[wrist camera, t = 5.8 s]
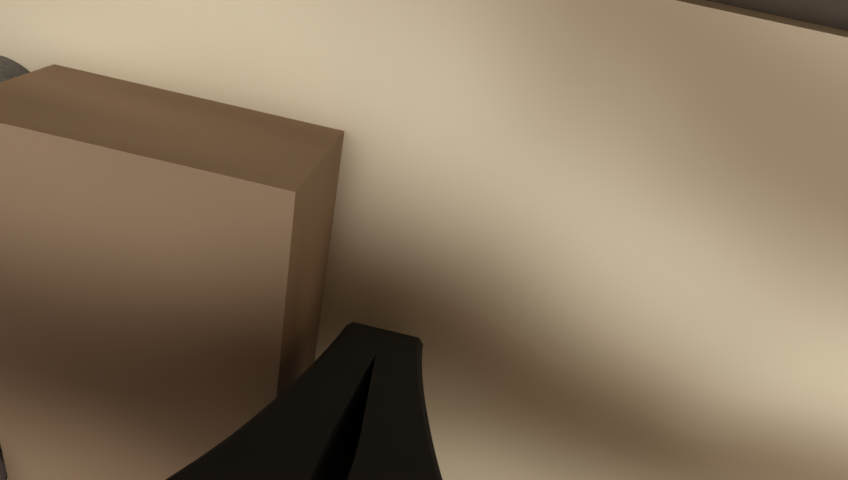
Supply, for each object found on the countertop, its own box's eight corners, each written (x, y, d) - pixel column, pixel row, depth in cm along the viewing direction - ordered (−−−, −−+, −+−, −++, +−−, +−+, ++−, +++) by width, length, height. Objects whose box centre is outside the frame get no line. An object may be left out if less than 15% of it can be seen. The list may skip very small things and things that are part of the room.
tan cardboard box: (301, 462, 14) (261, 564, 12) (90, 410, 14) (12, 501, 12) (344, 131, 10) (295, 191, 8) (54, 64, 10) (-71, 105, 8)
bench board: (790, 626, 16) (808, 676, 15) (-84, 408, 17) (-124, 440, 16) (1225, 111, 9) (1312, 138, 8) (-266, -210, 10) (-357, -224, 9)
